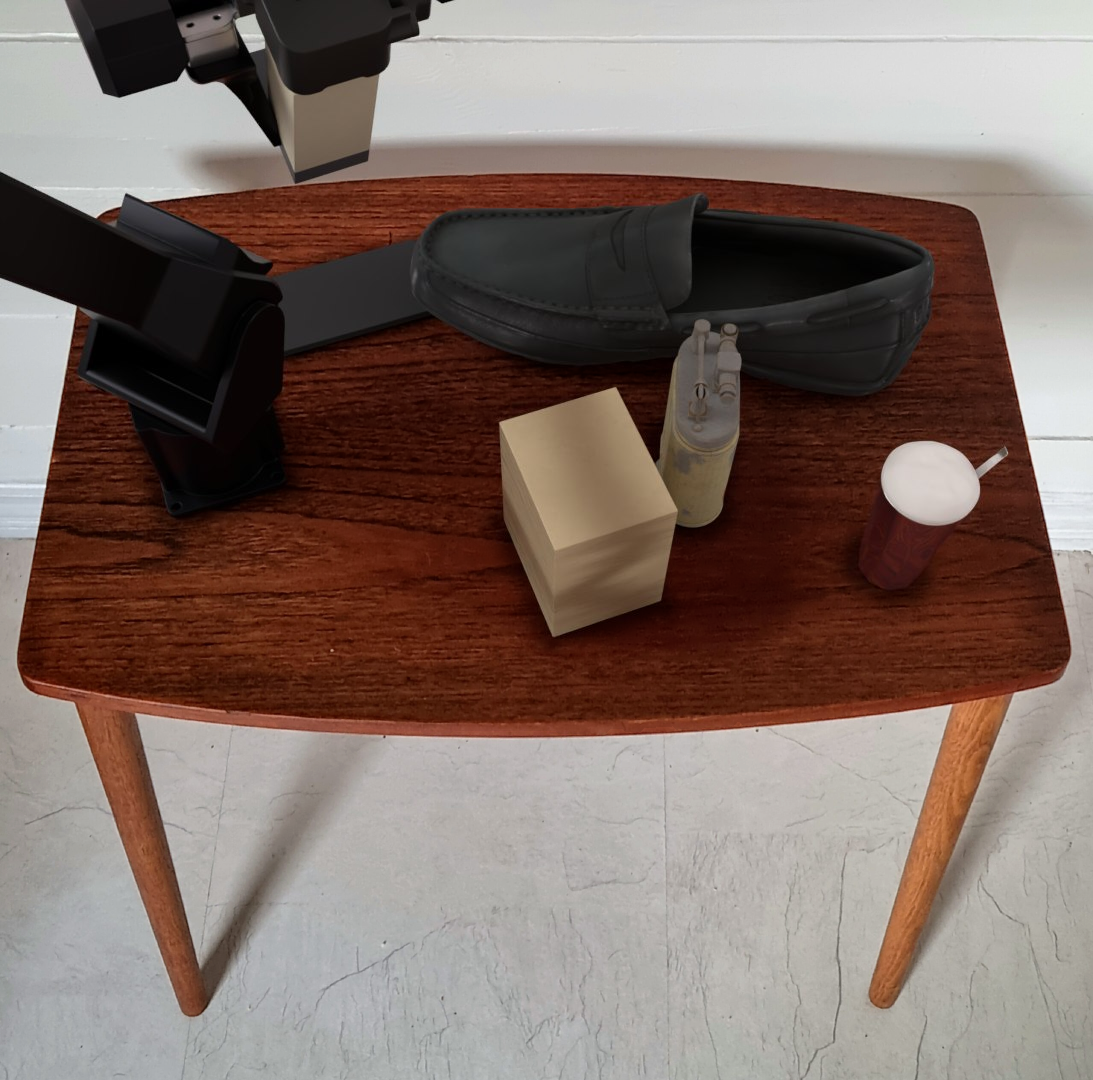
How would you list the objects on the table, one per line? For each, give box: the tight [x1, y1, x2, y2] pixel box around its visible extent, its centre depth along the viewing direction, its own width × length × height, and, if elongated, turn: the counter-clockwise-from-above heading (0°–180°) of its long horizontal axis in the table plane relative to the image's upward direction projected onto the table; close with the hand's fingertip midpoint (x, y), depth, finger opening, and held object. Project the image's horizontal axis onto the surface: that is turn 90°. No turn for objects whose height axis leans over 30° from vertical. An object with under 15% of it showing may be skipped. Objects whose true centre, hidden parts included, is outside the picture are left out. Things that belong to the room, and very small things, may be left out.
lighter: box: [654, 319, 741, 528], centre depth 63 cm, size 7×4×10 cm, turn 176°
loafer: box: [410, 192, 936, 397], centre depth 68 cm, size 10×29×10 cm, turn 85°
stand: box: [498, 386, 678, 638], centre depth 60 cm, size 6×8×9 cm
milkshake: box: [858, 440, 1009, 591], centre depth 60 cm, size 4×5×10 cm
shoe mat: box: [270, 238, 433, 358], centre depth 73 cm, size 12×6×1 cm, turn 111°
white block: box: [250, 40, 380, 185], centre depth 58 cm, size 4×6×10 cm, turn 25°
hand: (315, 128), depth 62 cm, fingers closed on white block, 4 cm apart
